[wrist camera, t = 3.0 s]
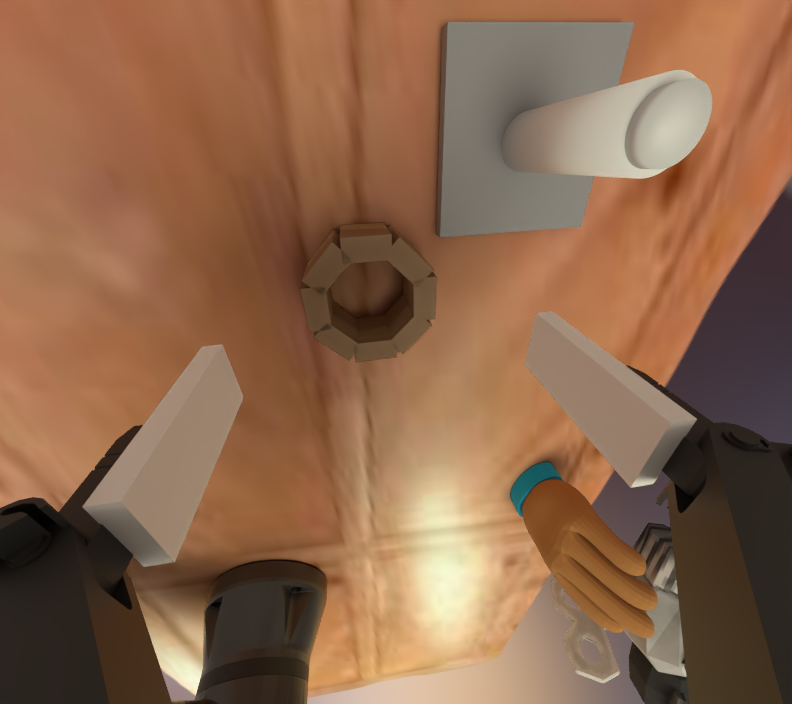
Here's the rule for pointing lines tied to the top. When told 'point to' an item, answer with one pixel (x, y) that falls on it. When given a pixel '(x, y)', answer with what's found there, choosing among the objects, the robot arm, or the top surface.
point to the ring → (370, 332)
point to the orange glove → (584, 552)
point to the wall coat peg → (550, 122)
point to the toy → (649, 657)
